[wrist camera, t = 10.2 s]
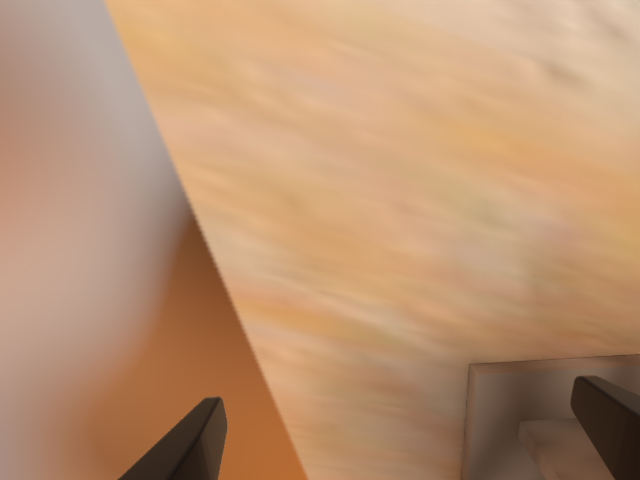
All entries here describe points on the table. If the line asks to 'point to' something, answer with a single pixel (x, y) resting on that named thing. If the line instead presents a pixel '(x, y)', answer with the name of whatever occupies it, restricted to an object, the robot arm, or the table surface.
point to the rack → (535, 419)
